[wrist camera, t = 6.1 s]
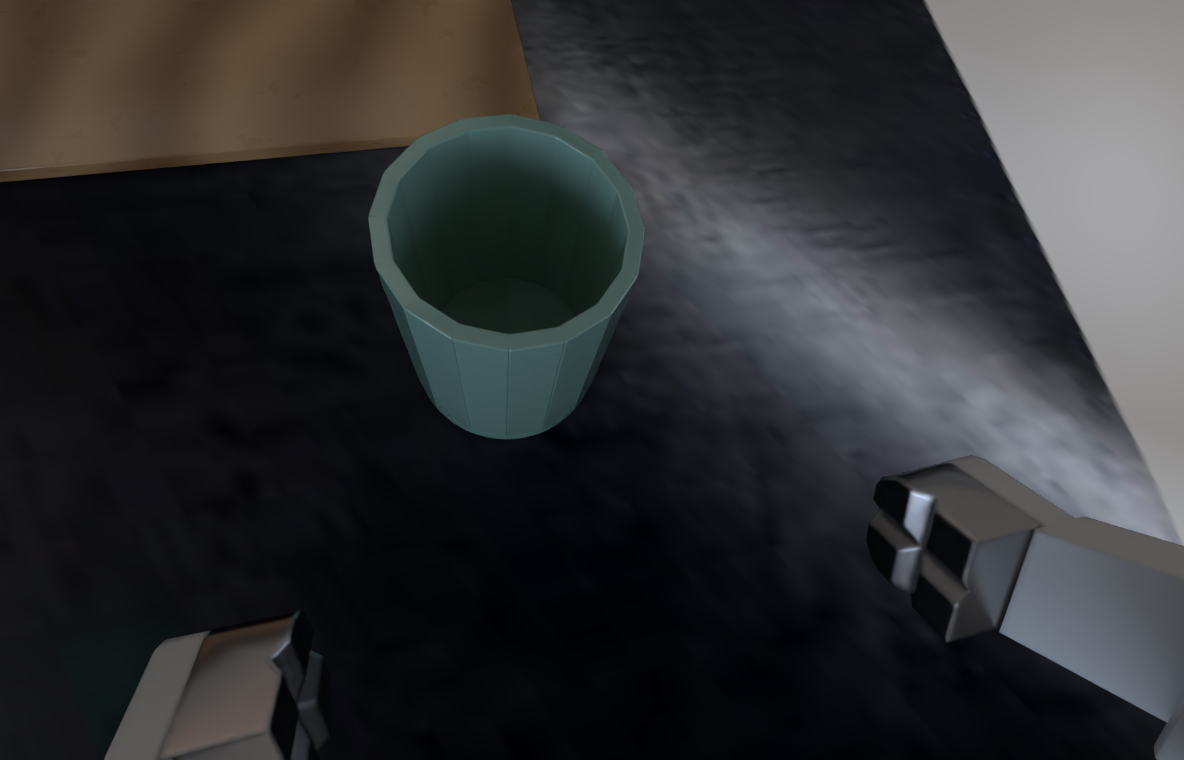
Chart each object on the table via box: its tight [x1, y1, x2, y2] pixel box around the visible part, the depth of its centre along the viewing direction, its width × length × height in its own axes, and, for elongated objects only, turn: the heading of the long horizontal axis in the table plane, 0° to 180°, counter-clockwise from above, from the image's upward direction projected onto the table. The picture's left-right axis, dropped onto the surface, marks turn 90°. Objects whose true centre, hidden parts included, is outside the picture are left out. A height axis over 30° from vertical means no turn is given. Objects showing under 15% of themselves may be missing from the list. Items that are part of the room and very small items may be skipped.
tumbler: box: [368, 114, 645, 439], centre depth 17 cm, size 6×6×8 cm
